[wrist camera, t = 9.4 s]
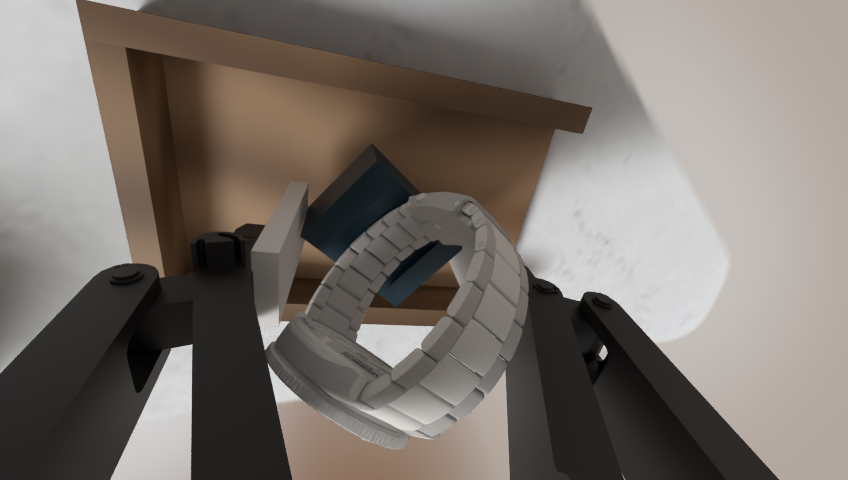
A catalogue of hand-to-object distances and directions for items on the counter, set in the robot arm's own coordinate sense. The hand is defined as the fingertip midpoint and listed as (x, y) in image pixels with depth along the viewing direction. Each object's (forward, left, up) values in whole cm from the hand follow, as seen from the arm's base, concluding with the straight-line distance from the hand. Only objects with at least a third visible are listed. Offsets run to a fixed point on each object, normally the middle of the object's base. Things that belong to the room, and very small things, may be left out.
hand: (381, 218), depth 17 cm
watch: (0, 0, -1) cm, 1 cm away
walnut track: (0, -1, -3) cm, 4 cm away
